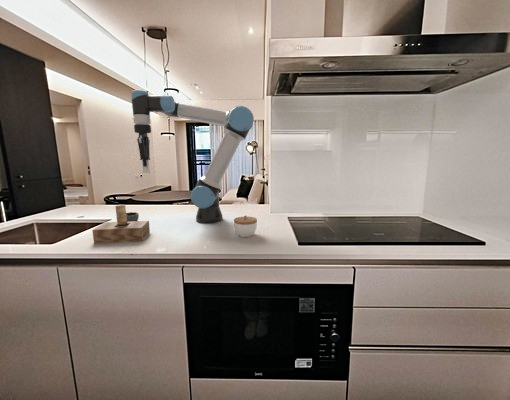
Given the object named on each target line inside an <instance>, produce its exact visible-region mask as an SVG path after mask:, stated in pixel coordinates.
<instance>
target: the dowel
mask: <svg viewBox="0 0 510 400" xmlns="http://www.w3.org/2000/svg"><path fill="white" fill-rule="evenodd" d="M114 207H115V216H116V222H117V226H118V227H125V226H127V216H126V213H127V209H126V204H121V205H120V204H116V205H115V206H114Z"/></svg>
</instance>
